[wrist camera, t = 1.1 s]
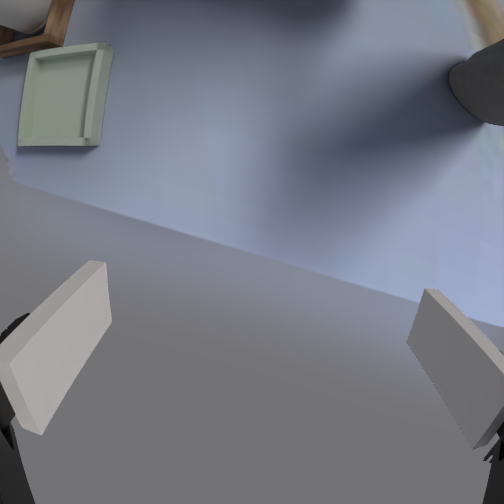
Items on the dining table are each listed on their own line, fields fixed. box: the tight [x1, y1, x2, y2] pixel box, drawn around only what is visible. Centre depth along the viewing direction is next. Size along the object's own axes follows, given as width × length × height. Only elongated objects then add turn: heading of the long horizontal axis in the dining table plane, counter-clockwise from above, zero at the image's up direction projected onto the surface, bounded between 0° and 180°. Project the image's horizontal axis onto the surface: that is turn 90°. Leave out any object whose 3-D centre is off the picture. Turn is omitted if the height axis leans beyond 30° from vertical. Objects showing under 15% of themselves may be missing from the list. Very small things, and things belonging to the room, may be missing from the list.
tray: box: [17, 42, 115, 146], centre depth 32 cm, size 13×12×3 cm
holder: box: [0, 0, 75, 58], centre depth 27 cm, size 12×12×4 cm
